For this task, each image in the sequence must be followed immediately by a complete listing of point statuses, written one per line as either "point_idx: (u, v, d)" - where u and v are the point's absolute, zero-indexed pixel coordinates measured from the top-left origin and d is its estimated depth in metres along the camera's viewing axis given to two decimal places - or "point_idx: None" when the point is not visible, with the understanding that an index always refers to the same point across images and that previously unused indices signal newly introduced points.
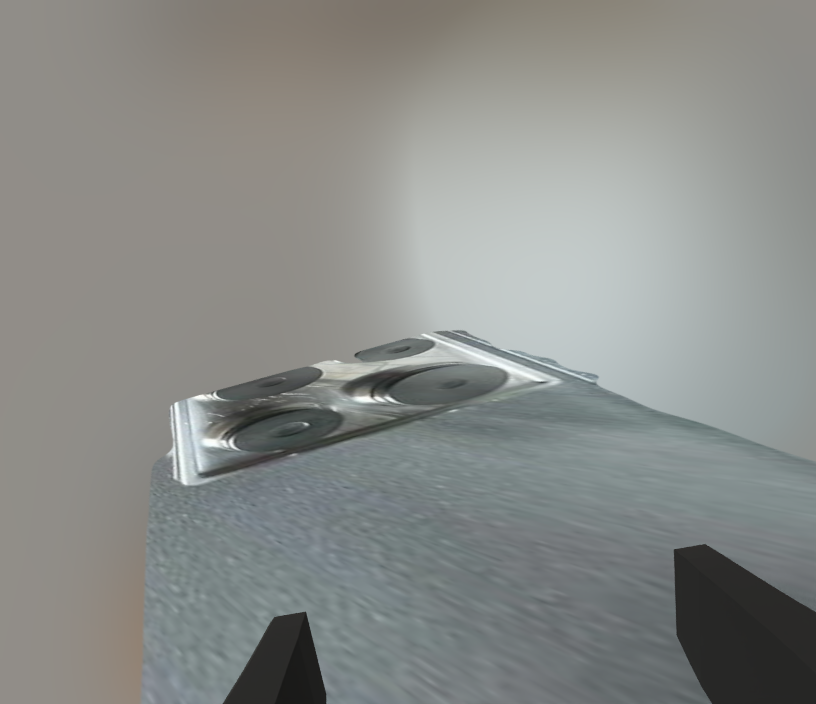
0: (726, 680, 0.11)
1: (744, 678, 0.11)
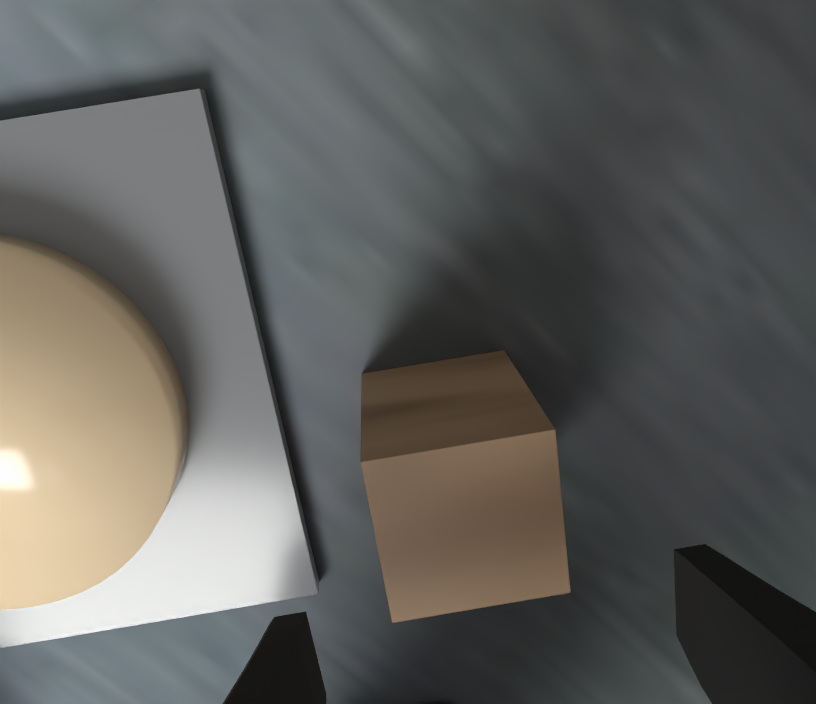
0: (726, 680, 0.11)
1: (744, 678, 0.11)
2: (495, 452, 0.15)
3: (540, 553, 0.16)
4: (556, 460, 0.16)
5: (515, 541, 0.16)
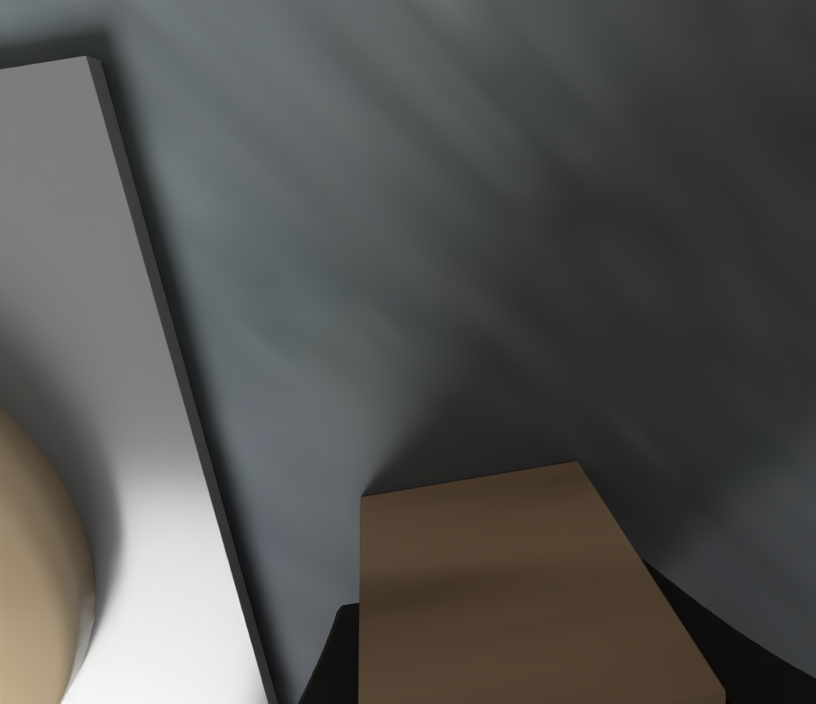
0: None
1: None
2: None
3: None
4: None
5: None
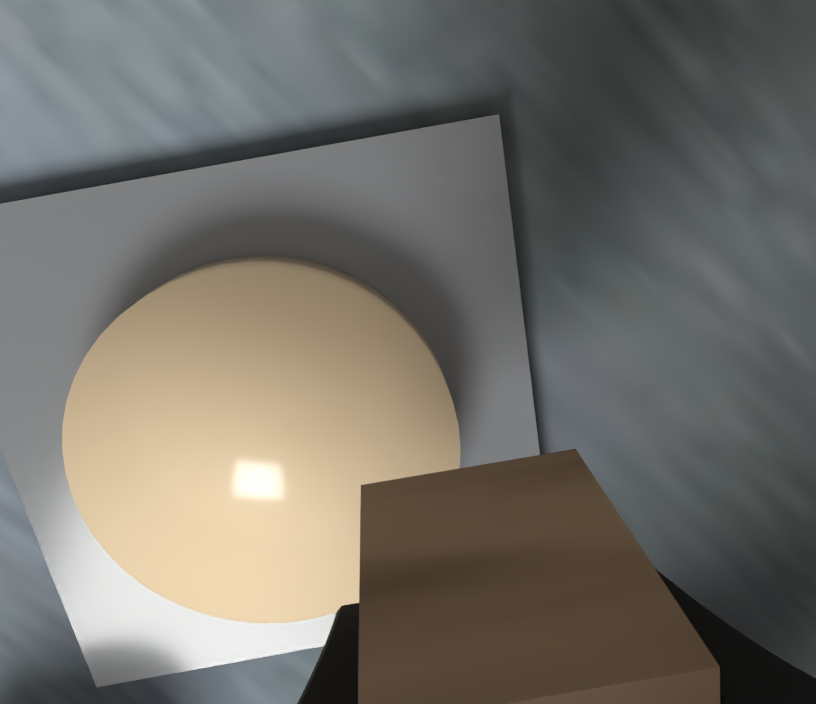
0: None
1: None
2: None
3: None
4: None
5: None
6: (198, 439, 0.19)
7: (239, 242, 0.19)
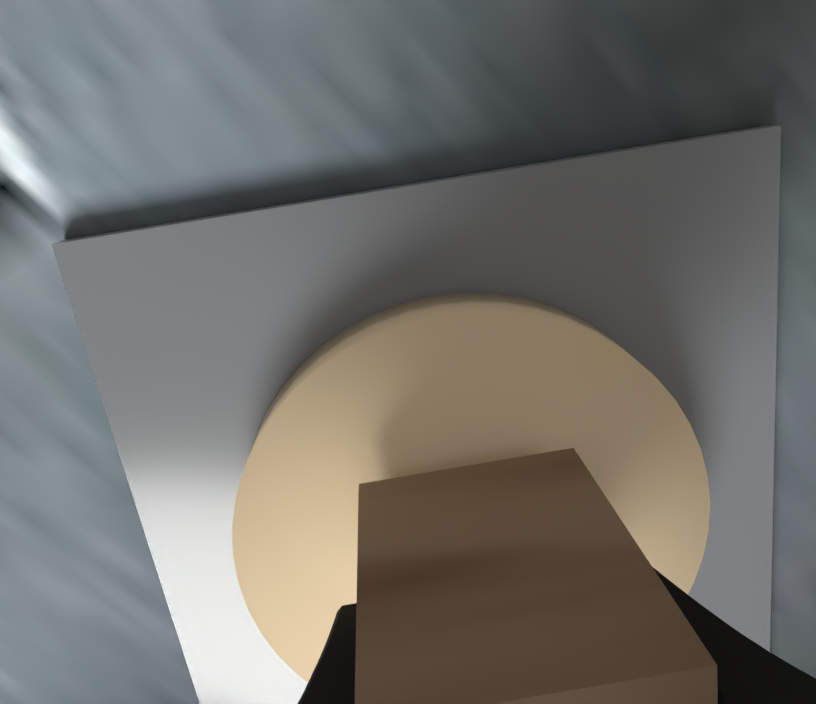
0: None
1: None
2: None
3: None
4: None
5: None
6: None
7: (450, 276, 0.15)
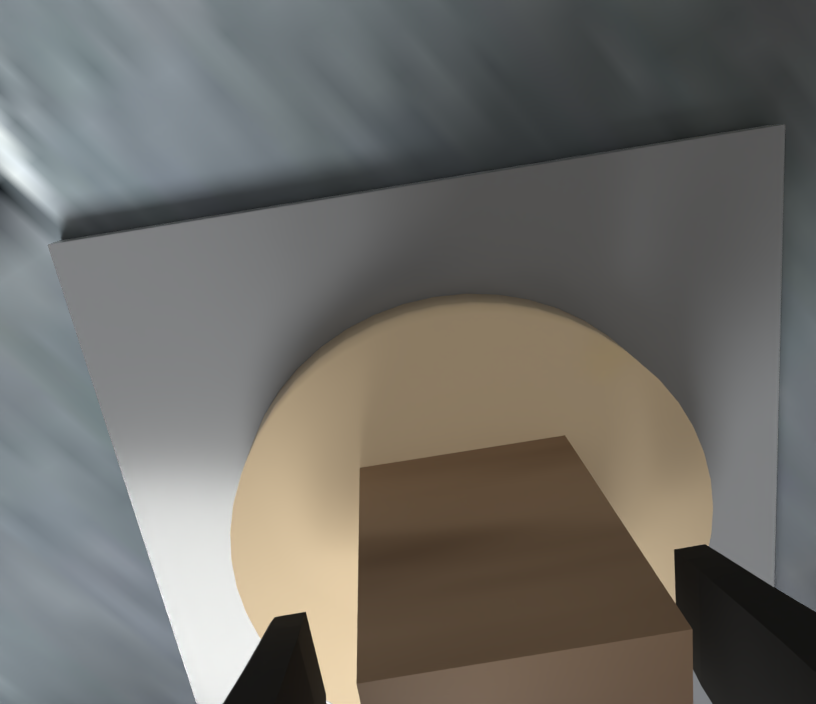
0: (726, 680, 0.11)
1: (744, 678, 0.11)
2: (586, 666, 0.09)
3: None
4: (690, 676, 0.09)
5: None
6: None
7: (450, 277, 0.15)
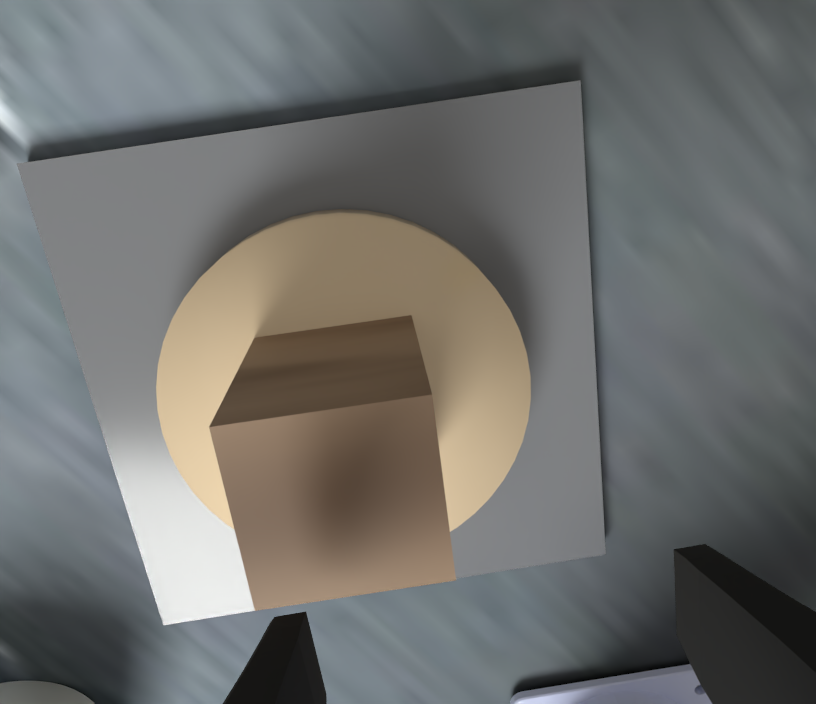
0: (726, 680, 0.11)
1: (744, 678, 0.11)
2: (363, 419, 0.14)
3: (420, 535, 0.15)
4: (434, 430, 0.14)
5: (391, 522, 0.14)
6: None
7: (328, 195, 0.20)
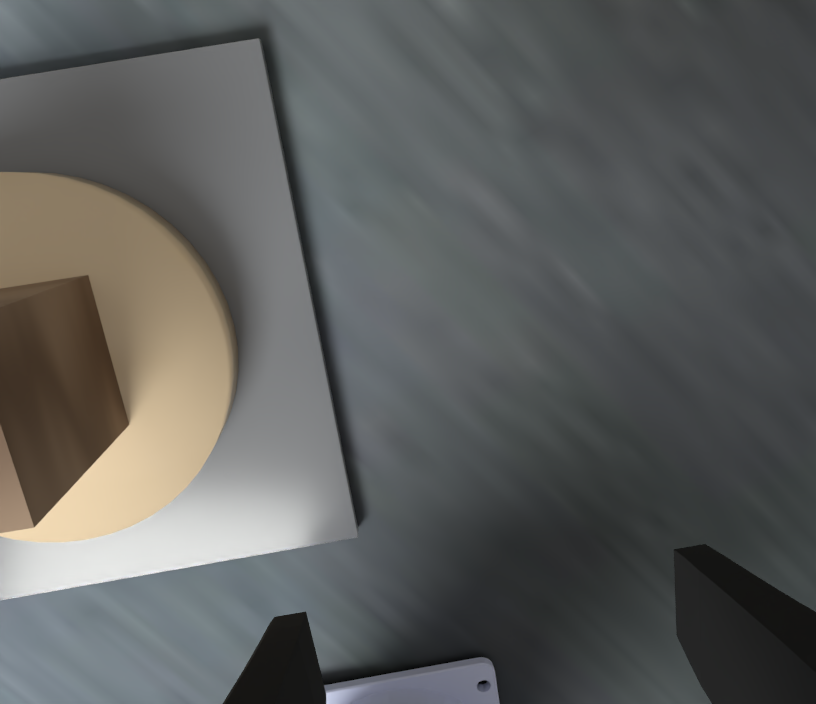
0: (726, 680, 0.11)
1: (744, 678, 0.11)
2: None
3: None
4: None
5: None
6: None
7: (13, 158, 0.19)
